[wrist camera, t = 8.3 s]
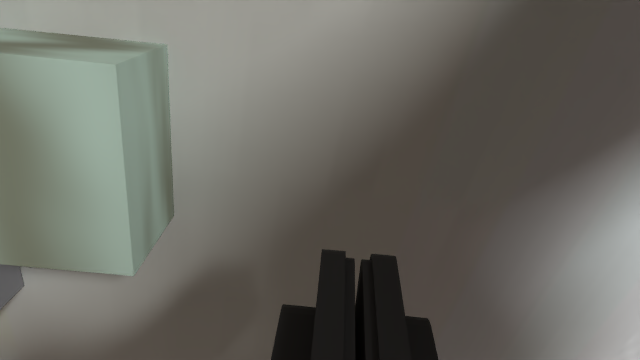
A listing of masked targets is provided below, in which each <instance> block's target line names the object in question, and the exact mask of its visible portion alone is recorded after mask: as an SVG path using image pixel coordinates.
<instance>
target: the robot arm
mask: <svg viewBox="0 0 640 360" xmlns="http://www.w3.org/2000/svg"><path fill="white" fill-rule="evenodd" d="M345 257H346V252H345V251H335V250H324V249H322V255H321V265H320V274H319V284H318V294H317V303H316V308H315V307H304V306H294V305H284V304H283V305H282V309H281V313H280V318H279V323H278V328H277V332H276V337H275V342H274V347H273V352H272V357H271V360H438V356H437V352H436V347H435V342H434V338H433V333H432V329H431V325H430V322H429V320H428V319H427V318H419V317H409V316H405V313H404V306H403V300H402V293H401V286H400V280H399V273H398V266H397V260H396V257H395V256H389V255H378V254H371V257H370V260H363V259H362V260H361V266H360V273H359V281H358V289H357V296H356V304H355V261H354V259H352V258H345Z"/></svg>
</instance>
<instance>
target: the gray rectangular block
mask: <svg viewBox="0 0 640 360" xmlns="http://www.w3.org/2000/svg"><path fill="white" fill-rule="evenodd" d="M23 286H24V283H23V279H22V275H21V270H20V266H14V265H2V264H0V309H1V308H2V307H3V306H4V305H5V304H6V303H7V302H8V301H9V300H10V299H11V298H12V297H13V296H14V295H15V294H16V293H17V292H18V291H19V290H20V289H21V288H22V287H23Z"/></svg>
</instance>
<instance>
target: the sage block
mask: <svg viewBox="0 0 640 360" xmlns="http://www.w3.org/2000/svg"><path fill="white" fill-rule="evenodd" d="M173 216H174V204H173V179H172V154H171V129H170V103H169V78H168V53H167V44H157V43H147V42H137V41H127V40H117V39H107V38H97V37H87V36H77V35H67V34H56V33H46V32H36V31H26V30H16V29H6V28H0V264H2V265H14V266H25V267H36V268H47V269H59V270H70V271H81V272H92V273H104V274H115V275H126V276H134V275H135V274H136V272H137V271H138V269H139V268H140V266H141V265H142V263H143V261H144V260H145V258H146V257H147V255H148V254H149V252H150V251H151V249H152V248H153V246H154V245H155V243H156V242H157V240H158V239H159V237H160V236H161V234H162V233H163V231H164V230H165V228H166V227H167V225H168V224H169V222H170V221H171V219H172V218H173Z"/></svg>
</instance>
